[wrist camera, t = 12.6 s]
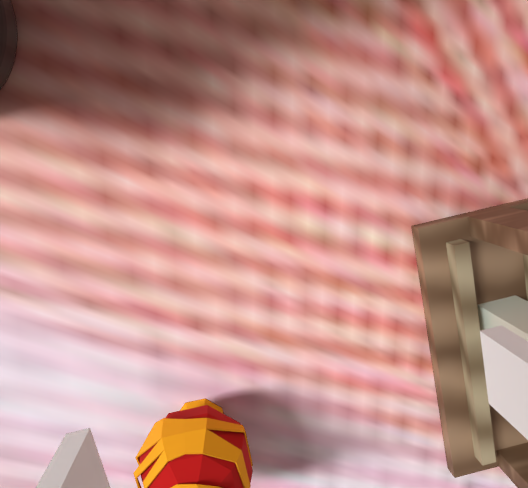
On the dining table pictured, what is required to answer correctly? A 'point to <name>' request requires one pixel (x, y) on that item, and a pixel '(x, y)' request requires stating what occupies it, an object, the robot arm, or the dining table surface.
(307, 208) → the dining table surface
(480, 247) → the wooden rack
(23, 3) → the dining table surface
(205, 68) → the dining table surface
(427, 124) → the dining table surface
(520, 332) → the cream rectangular block
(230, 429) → the potion bottle
